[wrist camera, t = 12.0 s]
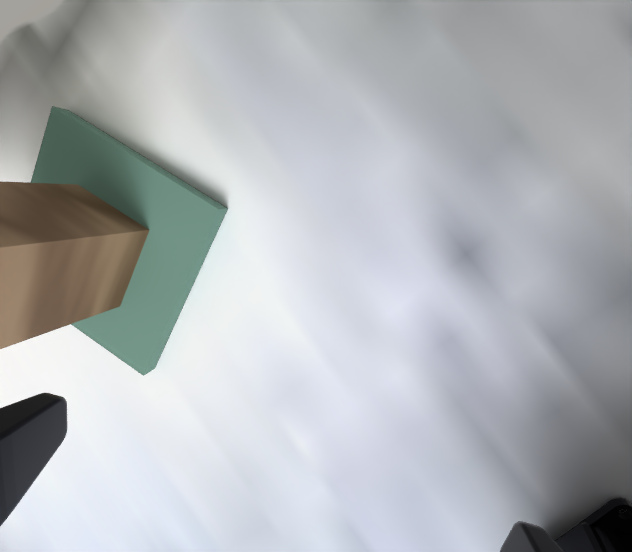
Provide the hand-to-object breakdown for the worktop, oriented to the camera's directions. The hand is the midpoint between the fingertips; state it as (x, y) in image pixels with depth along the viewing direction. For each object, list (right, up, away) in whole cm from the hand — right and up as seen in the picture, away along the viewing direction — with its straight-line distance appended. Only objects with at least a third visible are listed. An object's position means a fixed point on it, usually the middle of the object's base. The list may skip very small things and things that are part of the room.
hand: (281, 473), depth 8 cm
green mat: (-11, +6, +15) cm, 20 cm away
